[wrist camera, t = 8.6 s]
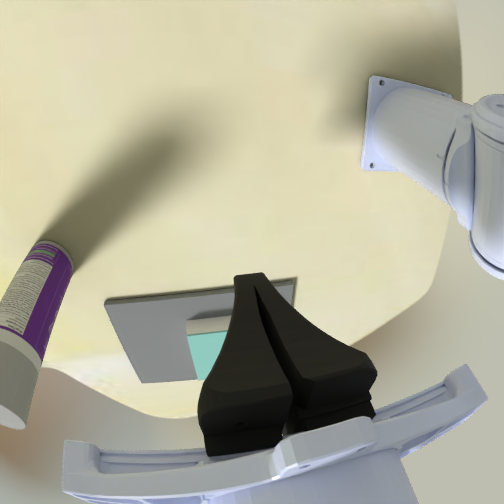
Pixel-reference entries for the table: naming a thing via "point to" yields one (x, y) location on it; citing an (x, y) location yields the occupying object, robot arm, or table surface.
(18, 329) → the container
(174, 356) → the mat
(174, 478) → the robot arm
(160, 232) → the table surface
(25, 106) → the table surface
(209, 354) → the tile
